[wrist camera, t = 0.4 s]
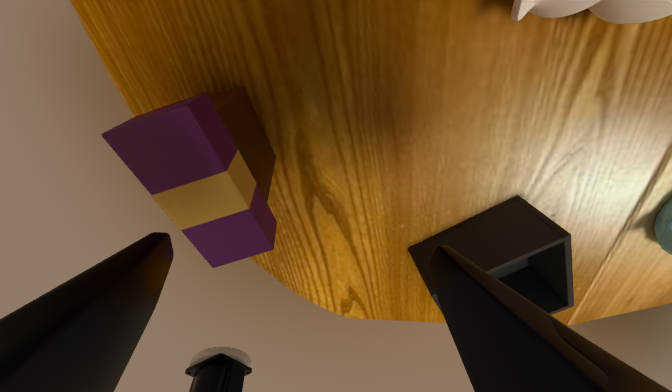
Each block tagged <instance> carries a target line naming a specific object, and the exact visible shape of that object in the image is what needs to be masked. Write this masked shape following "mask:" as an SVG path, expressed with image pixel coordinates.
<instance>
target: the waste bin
mask: <svg viewBox="0 0 672 392" xmlns="http://www.w3.org/2000/svg"><path fill="white" fill-rule="evenodd" d="M439 245H440V246H449V247H450V248H452V249H453V250H455V251H456V252H458V253H459V254H461V255H462V256H464V257H465V258H467V259H468V260H469V261H471V262H472V263H474V264H475V265H477V266H478V267H480V268H481V269H483V270H484V271H486V272H487V273H489V274H490V275H492V276H493V277H495V278H496V279H498V280H499V281H501V282H502V283H504V284H505V285H506V286H508V287H509V288H511V289H512V290H514V291H515V292H517V293H518V294H520V295H521V296H523V297H524V298H526V299H527V300H529V301H530V302H532V303H533V304H535V305H536V306H538V307H539V308H541V309H542V310H544V311H545V312H547V313H548V314H549V315H552V314H555V313H557V312H560V311H562V310H565V309H568V308H570V307H573V306H574V297H573V273H572V249H571V234H570V233H568V232H567V231H566V230H564V229H563V228H562V227H560V226H559V225H558V224H556V223H555V222H553V221H552V220H551V219H549V218H548V217H547V216H545V215H544V214H543V213H541V212H540V211H539V210H537V209H536V208H535V207H533V206H532V205H531V204H529V203H528V202H527V201H525V200H524V199H522V198H521V197H520V196H519V195H518V196H516V197H513V198H511V199H509V200H507V201H505V202H503V203H501V204H499V205H497V206H495V207H493V208H491V209H489V210H487V211H485V212H483V213H480V214H478V215H476V216H474V217H472V218H470V219H468V220H466V221H464V222H462V223H460V224H458V225H456V226H454V227H452V228H450V229H448V230H445V231H443V232H441V233H439V234H437V235H435V236H433V237H431V238H429V239H427V240H425V241H423V242H421V243H419V244H417V245H415V246H412V247H410V248H408V250H409V252H410V254H411V256H412V258H413V260H414V262H415V264H416V266H417V268H418V270H419V272H420V274H421V276H422V278H423V280H424V282H425V284H426V286H427V288H428V290H429V292H430V294H431V296H432V297H433V299H434V301H435V302H436V304H437V306H438V307H439V309H440V310H441V307H440V305H439V302H438V298H437V295H436V292H435V288H434V285H433V282H432V278H431V275H430V272H429V268H428V261H429V259H430V257H431V255H432V253H433V251H434V249H435V247H436V246H439ZM441 312H442V310H441ZM442 314H443V313H442Z"/></svg>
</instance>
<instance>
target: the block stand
mask: <svg viewBox="0 0 672 392" xmlns="http://www.w3.org/2000/svg"><path fill="white" fill-rule="evenodd" d="M210 100H211V102H212V103H213V105H214V107H215V109H216V111H217V113H218V114H219V116H220V118H221V120H222V122H223V124H224V125H225V127H226V129H227V131H228V133H229V135H230V136H231V138H232V140H233V142H234V144H235V146H236V148H237V149H238V150H239V152H240V154H241V156H242V157H243V159H244V161H245V163H246V165H247V167H248V169H249V170H250V172H251V174H252V176H253V178H254V180H255V181H256V184H257V186H258V188H259V190H260V192H261V193H262V195H263V197H264V199H265V201H266V203H267V201H268V196H269V191H270V185H271V180H272V175H273V170H274V164H275V159H276V156H275V154H274V152H273V149H272V147H271V145H270V143H269V141H268V139H267V136H266V134H265V132H264V130H263V128H262V126H261V123H260V121H259V119H258V117H257V115H256V113H255V110H254V108H253V106H252V104H251V102H250V100H249V97H248V95H247V93H246V91H245V89H244V87H240V88H237V89H234V90H231V91H228V92H225V93H222V94H219V95H216V96H213V97H210Z"/></svg>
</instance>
